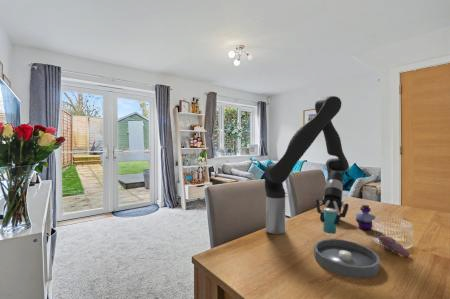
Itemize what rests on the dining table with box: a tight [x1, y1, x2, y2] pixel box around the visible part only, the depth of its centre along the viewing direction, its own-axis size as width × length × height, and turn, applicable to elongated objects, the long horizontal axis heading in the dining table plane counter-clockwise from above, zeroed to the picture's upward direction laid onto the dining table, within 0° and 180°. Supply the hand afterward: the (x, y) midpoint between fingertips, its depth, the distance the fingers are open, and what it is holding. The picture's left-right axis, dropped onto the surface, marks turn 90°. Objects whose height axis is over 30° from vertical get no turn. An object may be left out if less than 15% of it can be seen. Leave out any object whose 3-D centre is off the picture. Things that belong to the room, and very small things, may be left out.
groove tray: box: [313, 238, 380, 279], centre depth 82 cm, size 21×21×4 cm
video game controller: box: [378, 235, 410, 258], centre depth 89 cm, size 10×5×7 cm, turn 5°
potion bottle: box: [355, 204, 376, 232], centre depth 112 cm, size 9×9×12 cm
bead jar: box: [322, 207, 337, 235], centre depth 100 cm, size 5×5×10 cm
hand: (329, 222), depth 98 cm, fingers closed on bead jar, 5 cm apart
